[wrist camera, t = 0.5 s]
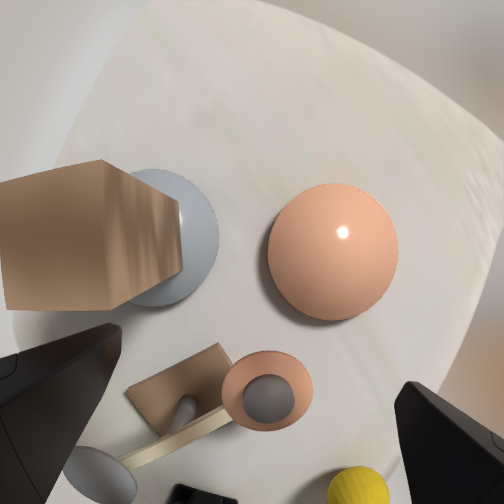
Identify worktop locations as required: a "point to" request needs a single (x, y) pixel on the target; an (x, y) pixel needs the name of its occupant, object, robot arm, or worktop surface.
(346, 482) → the lemon
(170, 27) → the worktop surface
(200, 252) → the slate dish
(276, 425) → the balance
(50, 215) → the walnut block
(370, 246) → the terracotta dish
